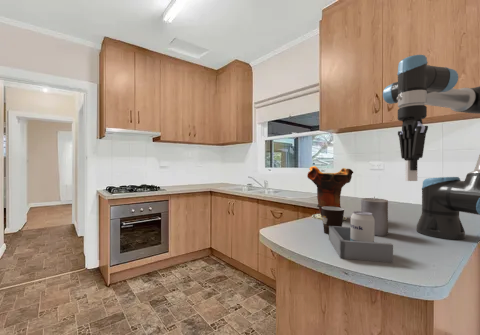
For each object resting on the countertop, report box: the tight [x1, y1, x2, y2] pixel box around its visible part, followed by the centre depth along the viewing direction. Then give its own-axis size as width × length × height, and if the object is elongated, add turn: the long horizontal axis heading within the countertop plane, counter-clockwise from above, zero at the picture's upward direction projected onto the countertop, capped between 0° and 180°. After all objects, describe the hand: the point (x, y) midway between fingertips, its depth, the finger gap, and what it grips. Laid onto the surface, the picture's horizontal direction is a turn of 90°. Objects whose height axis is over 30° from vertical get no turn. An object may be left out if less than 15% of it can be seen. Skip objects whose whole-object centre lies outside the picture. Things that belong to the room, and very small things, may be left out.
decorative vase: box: [307, 165, 354, 221], centre depth 126 cm, size 21×23×28 cm
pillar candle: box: [360, 196, 389, 237], centre depth 98 cm, size 10×10×15 cm
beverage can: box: [350, 210, 375, 242], centre depth 77 cm, size 7×7×12 cm
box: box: [328, 226, 394, 263], centre depth 77 cm, size 14×18×5 cm
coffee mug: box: [321, 207, 345, 235], centre depth 98 cm, size 12×9×10 cm
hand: (411, 180), depth 76 cm, fingers closed
